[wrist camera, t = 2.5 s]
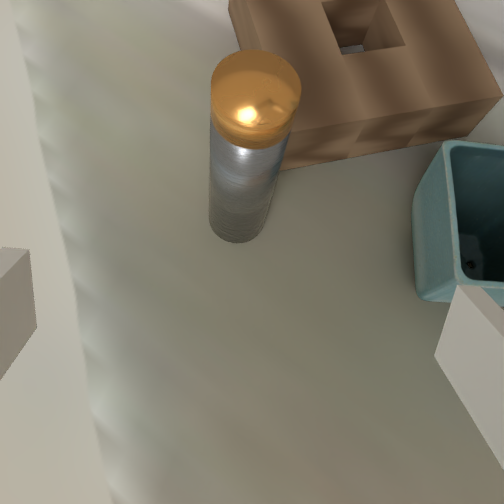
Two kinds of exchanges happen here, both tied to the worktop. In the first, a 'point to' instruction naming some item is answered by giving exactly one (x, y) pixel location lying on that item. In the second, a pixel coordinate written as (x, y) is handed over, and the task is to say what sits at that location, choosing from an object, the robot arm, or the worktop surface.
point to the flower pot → (460, 222)
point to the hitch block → (371, 72)
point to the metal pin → (248, 138)
